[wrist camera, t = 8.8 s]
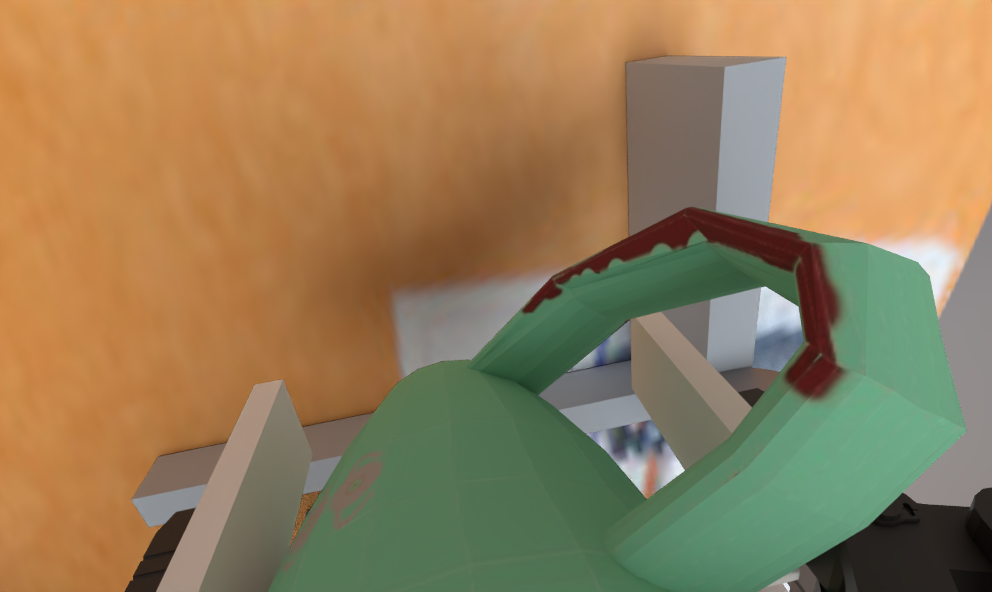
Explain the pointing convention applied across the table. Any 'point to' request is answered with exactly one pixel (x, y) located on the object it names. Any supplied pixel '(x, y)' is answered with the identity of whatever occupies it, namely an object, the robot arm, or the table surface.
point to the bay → (652, 197)
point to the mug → (594, 474)
